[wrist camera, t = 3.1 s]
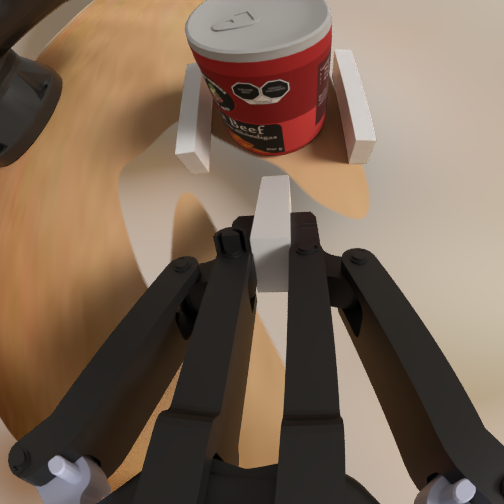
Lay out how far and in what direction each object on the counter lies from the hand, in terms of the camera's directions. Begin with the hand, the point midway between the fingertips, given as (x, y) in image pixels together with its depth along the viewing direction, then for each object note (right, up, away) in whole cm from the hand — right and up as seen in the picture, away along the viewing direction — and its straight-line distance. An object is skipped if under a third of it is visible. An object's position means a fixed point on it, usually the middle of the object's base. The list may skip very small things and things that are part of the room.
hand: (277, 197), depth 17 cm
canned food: (+1, +8, +5) cm, 9 cm away
